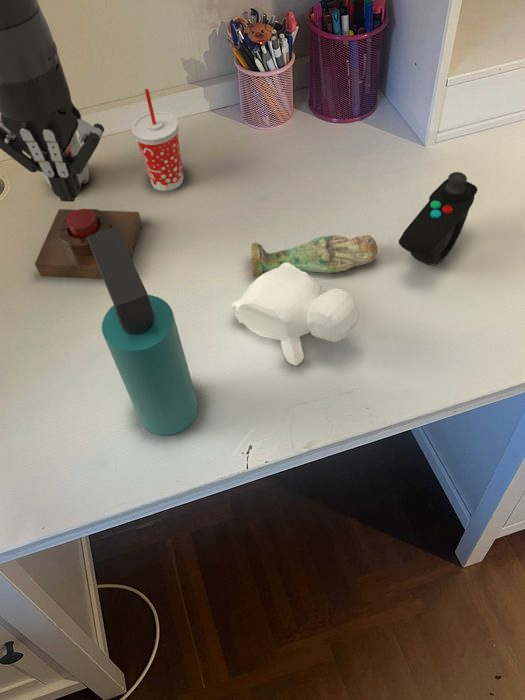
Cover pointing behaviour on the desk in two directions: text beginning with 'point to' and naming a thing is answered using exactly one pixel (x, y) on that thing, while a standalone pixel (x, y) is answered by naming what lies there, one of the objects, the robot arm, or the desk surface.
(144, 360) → the spray bottle
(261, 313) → the penguin
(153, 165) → the beverage cup
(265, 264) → the figurine
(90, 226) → the button
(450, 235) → the controller
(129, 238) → the button box
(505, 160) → the desk surface
